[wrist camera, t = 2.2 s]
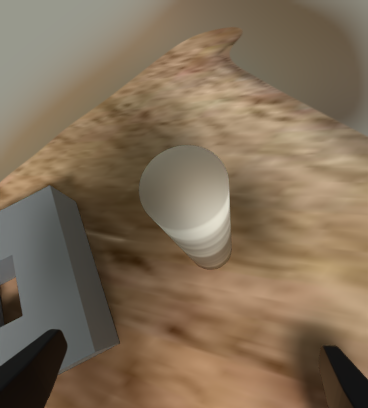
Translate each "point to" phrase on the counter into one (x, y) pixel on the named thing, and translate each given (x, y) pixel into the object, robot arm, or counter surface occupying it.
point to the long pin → (190, 202)
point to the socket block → (52, 278)
